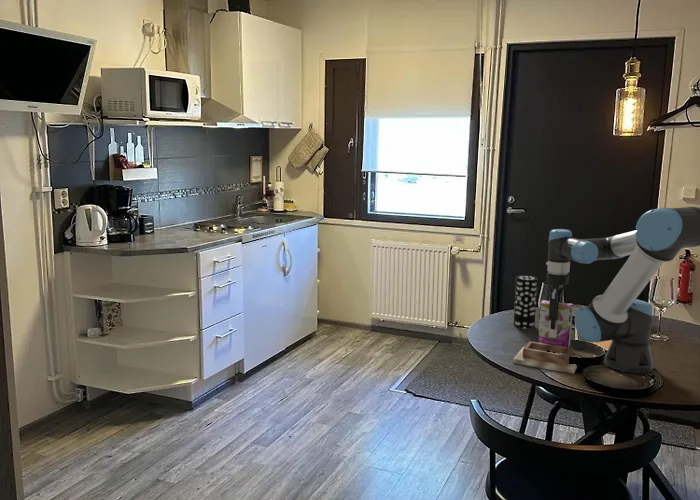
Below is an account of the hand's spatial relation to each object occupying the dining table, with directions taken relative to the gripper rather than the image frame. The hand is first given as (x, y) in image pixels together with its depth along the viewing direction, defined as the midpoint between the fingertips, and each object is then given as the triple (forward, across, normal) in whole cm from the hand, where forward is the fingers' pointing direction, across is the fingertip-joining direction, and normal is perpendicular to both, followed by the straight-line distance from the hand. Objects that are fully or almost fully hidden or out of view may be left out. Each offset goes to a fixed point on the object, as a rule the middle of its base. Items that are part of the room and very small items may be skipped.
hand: (554, 335), depth 234 cm
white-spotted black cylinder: (+5, -23, -16) cm, 29 cm away
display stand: (+5, +14, +1) cm, 15 cm away
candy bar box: (+5, 0, 0) cm, 5 cm away
